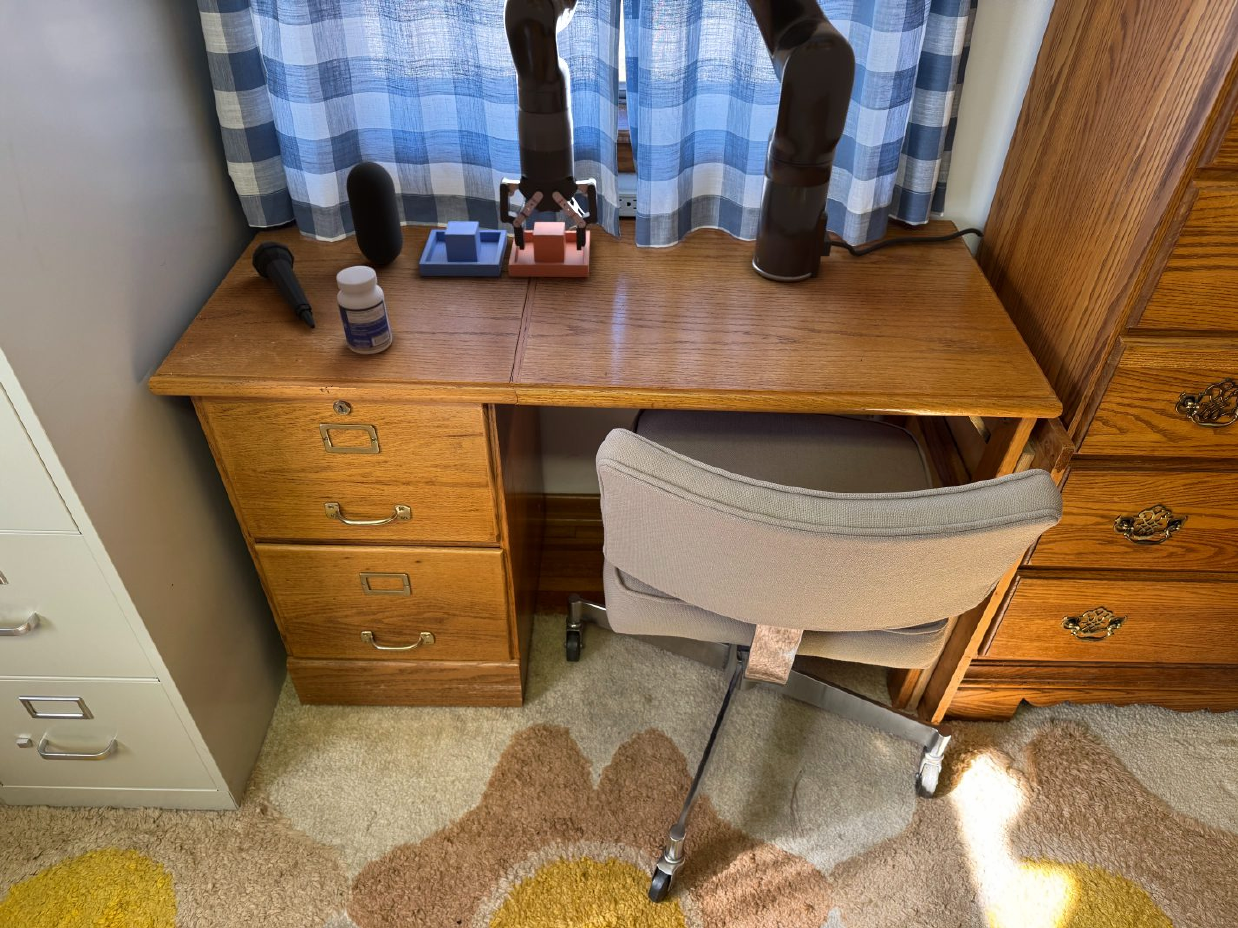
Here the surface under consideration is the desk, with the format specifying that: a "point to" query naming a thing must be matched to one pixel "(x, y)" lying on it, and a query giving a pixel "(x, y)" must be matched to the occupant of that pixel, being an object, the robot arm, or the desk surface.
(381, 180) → the decorative object
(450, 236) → the blue cube
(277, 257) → the microphone
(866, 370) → the desk surface
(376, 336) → the pill bottle
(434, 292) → the desk surface
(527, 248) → the terracotta tray
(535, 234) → the terracotta cube
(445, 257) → the blue tray
